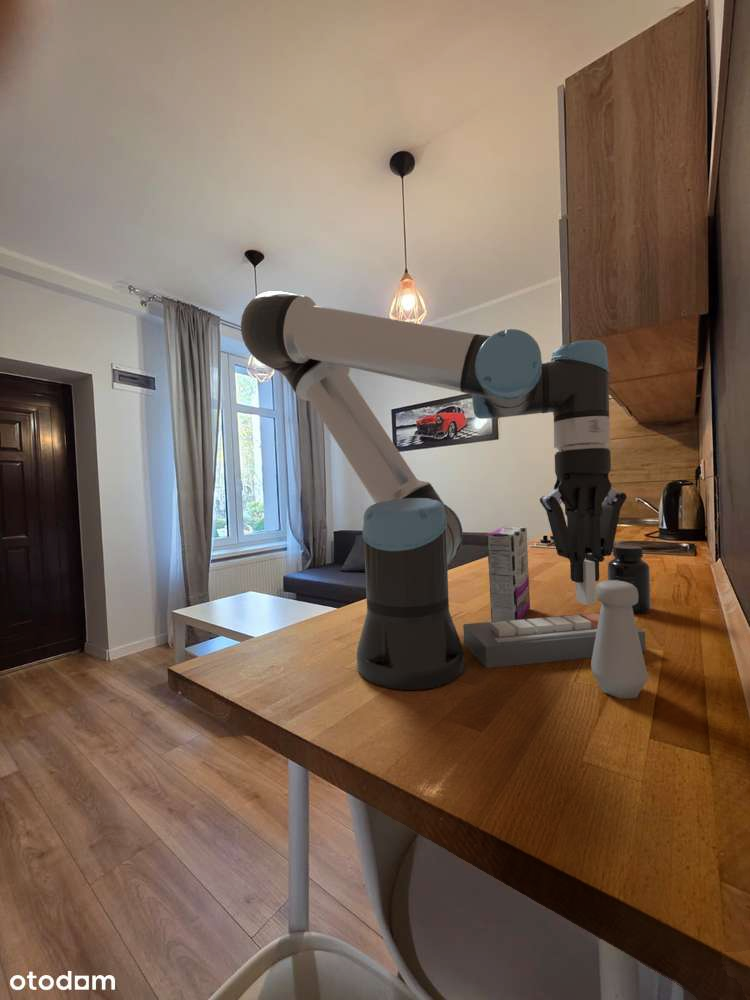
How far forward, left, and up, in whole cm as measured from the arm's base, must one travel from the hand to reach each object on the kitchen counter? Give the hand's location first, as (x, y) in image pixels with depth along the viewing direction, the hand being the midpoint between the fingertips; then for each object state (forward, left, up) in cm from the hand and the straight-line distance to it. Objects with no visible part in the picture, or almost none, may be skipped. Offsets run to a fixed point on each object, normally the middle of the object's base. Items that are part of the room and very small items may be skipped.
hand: (585, 602), depth 60 cm
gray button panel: (-6, 0, -6) cm, 9 cm away
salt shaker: (-5, -13, -7) cm, 15 cm away
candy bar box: (-5, +15, -7) cm, 17 cm away
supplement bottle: (+18, +13, -7) cm, 23 cm away
